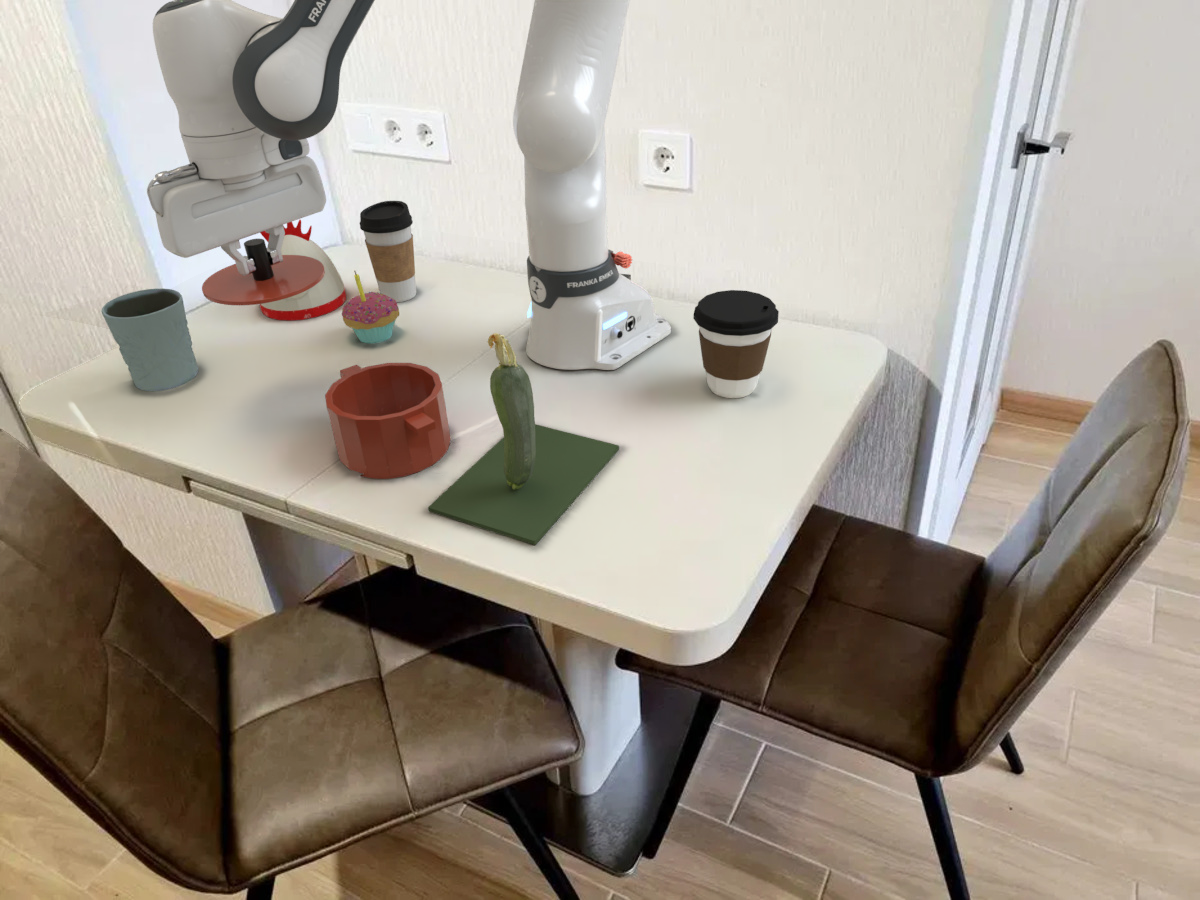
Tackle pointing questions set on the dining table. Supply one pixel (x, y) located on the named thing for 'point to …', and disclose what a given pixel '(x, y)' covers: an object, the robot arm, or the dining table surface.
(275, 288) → the pot lid
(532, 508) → the mat
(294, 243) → the kitchen timer
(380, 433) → the pot
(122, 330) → the blue-grey cup
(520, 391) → the vegetable
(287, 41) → the robot arm
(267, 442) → the dining table surface
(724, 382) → the coffee cup
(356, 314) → the cupcake
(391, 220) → the coffee cup
